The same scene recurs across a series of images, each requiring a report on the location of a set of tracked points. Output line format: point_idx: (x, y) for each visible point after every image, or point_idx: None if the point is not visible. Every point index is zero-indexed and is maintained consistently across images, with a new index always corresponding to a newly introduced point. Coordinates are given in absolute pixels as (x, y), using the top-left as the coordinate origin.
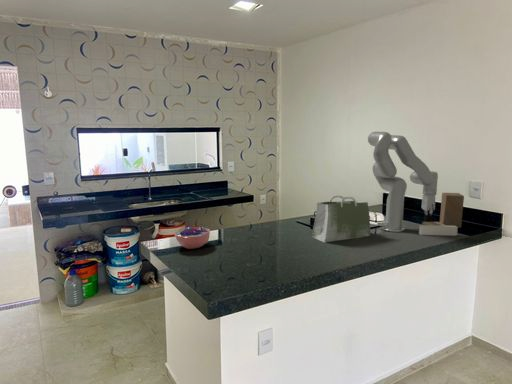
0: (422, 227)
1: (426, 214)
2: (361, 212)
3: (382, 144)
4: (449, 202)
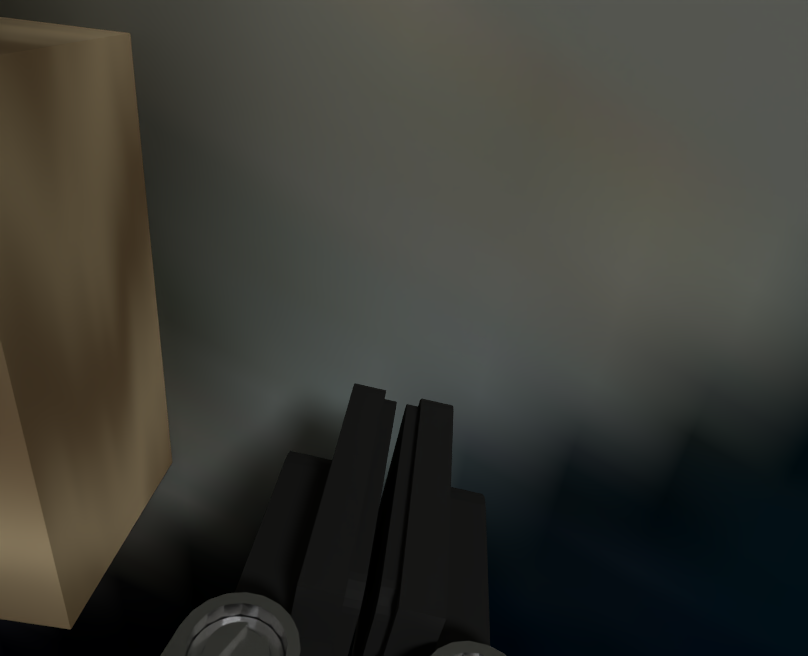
0: None
1: (245, 650)
2: None
3: None
4: None
